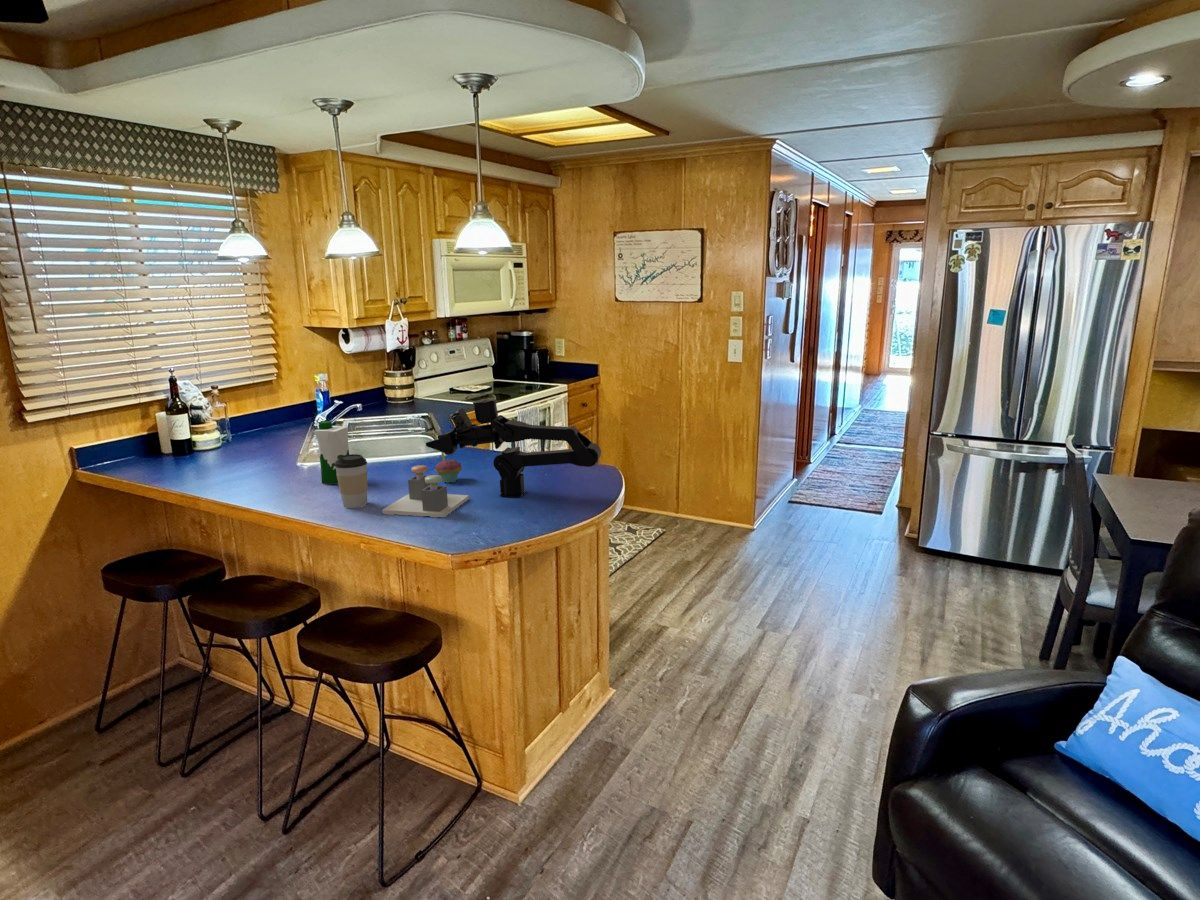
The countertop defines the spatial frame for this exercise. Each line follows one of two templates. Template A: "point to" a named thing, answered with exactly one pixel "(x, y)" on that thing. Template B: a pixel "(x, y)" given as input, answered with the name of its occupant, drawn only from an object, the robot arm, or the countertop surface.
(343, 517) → the countertop surface
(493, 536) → the countertop surface
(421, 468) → the terracotta button
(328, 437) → the milk carton
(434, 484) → the sage button
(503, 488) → the robot arm
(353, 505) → the coffee cup
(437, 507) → the grey button stand
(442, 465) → the cupcake
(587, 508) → the countertop surface
